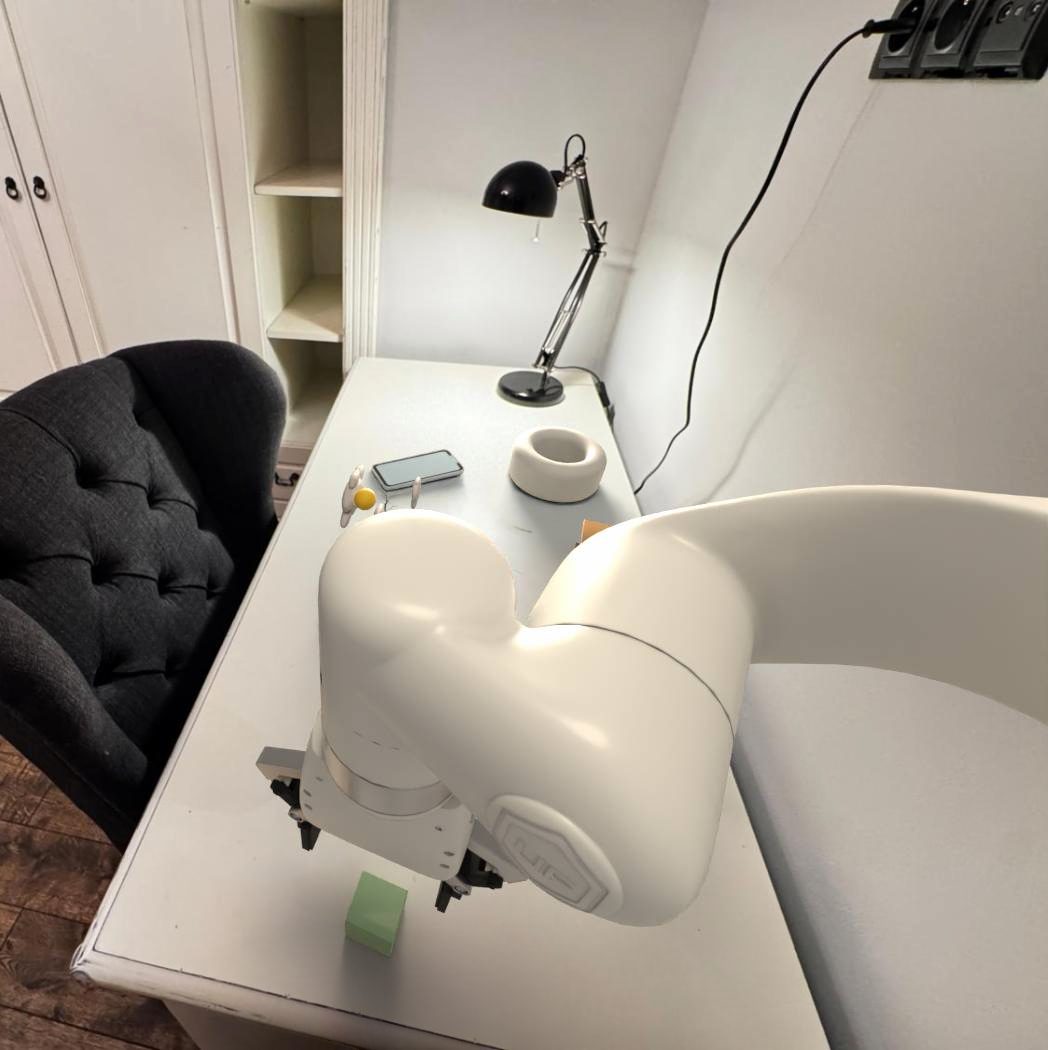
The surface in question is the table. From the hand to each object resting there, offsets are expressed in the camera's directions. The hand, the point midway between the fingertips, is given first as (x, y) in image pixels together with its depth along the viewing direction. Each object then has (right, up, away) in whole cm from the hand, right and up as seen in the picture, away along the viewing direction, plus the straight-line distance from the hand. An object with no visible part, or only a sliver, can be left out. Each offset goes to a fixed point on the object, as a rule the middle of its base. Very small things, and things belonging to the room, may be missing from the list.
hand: (378, 857), depth 40 cm
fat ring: (+33, +31, +58) cm, 74 cm away
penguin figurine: (+2, +16, +40) cm, 43 cm away
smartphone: (+10, +33, +59) cm, 68 cm away
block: (0, -10, +9) cm, 14 cm away
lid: (+31, +19, +31) cm, 48 cm away
